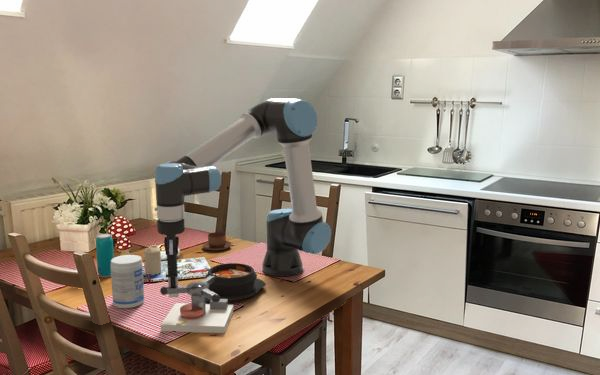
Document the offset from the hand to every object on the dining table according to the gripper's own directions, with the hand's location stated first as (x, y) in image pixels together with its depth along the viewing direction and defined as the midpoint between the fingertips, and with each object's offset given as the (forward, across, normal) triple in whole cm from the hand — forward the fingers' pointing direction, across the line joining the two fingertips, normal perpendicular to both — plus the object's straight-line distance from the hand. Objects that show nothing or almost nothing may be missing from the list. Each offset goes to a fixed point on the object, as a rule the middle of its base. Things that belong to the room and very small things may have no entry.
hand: (173, 296), depth 157 cm
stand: (+8, +2, +7) cm, 10 cm away
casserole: (+8, -17, +18) cm, 26 cm away
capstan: (+5, +2, +5) cm, 7 cm away
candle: (+9, -43, -9) cm, 44 cm away
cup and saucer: (+10, -69, +16) cm, 72 cm away
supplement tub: (+8, -15, -15) cm, 23 cm away
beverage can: (+9, -43, -25) cm, 50 cm away
